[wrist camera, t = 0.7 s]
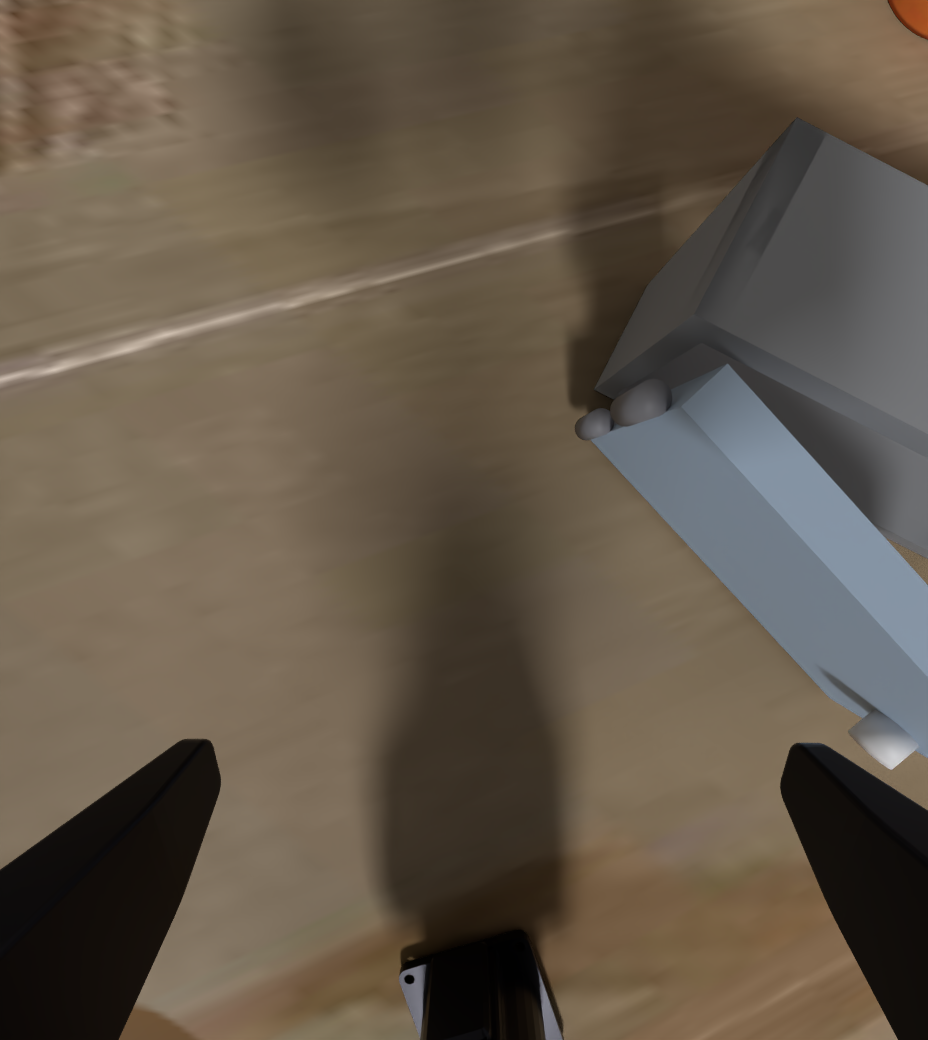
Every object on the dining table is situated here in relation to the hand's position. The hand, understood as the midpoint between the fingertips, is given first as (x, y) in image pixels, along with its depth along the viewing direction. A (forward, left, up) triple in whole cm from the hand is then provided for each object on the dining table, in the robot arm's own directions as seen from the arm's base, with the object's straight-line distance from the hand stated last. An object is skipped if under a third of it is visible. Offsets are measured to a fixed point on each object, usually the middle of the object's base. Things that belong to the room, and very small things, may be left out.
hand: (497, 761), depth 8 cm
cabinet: (+2, -15, -16) cm, 22 cm away
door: (-2, -10, -15) cm, 18 cm away
